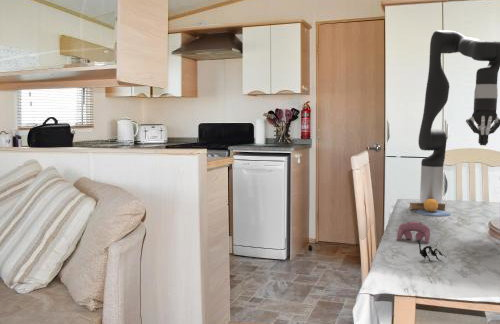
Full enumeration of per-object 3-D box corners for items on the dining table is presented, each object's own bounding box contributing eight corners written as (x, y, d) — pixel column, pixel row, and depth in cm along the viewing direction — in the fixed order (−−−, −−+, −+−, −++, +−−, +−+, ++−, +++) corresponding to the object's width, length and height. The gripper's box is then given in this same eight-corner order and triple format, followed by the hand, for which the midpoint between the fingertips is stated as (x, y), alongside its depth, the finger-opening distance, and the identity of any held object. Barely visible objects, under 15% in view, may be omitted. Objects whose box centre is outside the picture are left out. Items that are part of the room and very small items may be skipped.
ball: (426, 198, 203) (426, 211, 202) (439, 198, 203) (440, 212, 202) (421, 198, 208) (422, 211, 208) (435, 198, 208) (435, 212, 208)
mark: (412, 209, 210) (412, 209, 210) (444, 210, 210) (444, 209, 209) (421, 215, 197) (421, 215, 197) (455, 216, 197) (455, 216, 197)
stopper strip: (409, 208, 213) (410, 202, 212) (443, 209, 212) (443, 203, 212) (411, 209, 211) (411, 203, 210) (444, 209, 210) (445, 204, 210)
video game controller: (429, 246, 159) (431, 224, 161) (428, 242, 155) (430, 221, 157) (397, 242, 163) (399, 221, 165) (396, 239, 159) (398, 218, 161)
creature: (438, 259, 143) (412, 253, 142) (443, 241, 142) (416, 235, 142) (451, 268, 135) (423, 262, 134) (456, 249, 135) (428, 242, 134)
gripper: (499, 97, 184) (496, 144, 185) (463, 97, 184) (460, 144, 186) (509, 97, 176) (506, 146, 178) (471, 96, 177) (468, 145, 179)
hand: (482, 145), depth 182 cm, fingers closed
